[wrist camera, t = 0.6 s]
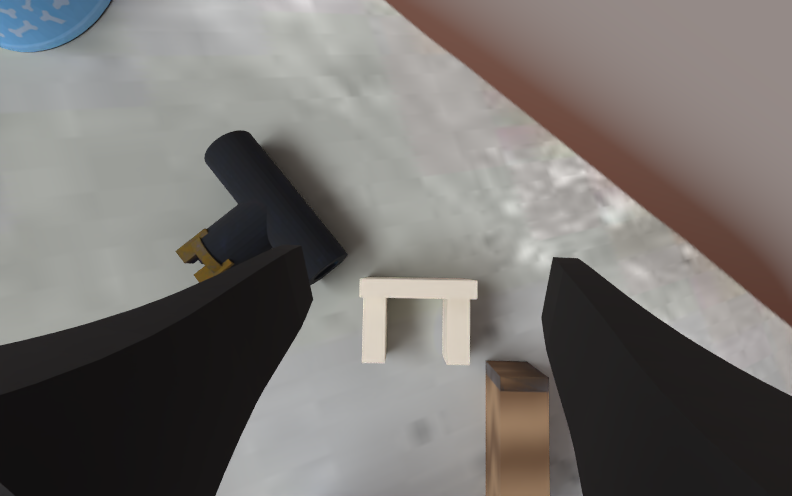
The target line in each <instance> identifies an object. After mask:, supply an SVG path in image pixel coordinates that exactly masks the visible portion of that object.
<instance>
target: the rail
mask: <svg viewBox="0 0 792 496" xmlns="http://www.w3.org/2000/svg"><path fill="white" fill-rule="evenodd" d="M486 496H550V470H549V378H548V377H547V376H546V375H544V374H543V373H542V372H540V371H539V370H538V369H536V368H535V367H533V366H532V365H531V364H529V363H528V362H520V361H486Z"/></svg>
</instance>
